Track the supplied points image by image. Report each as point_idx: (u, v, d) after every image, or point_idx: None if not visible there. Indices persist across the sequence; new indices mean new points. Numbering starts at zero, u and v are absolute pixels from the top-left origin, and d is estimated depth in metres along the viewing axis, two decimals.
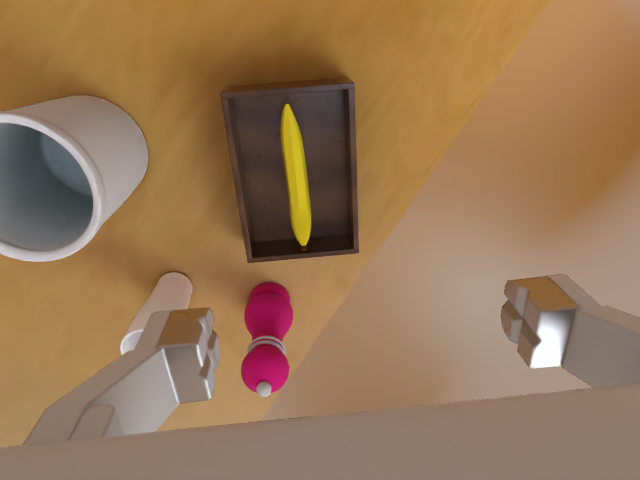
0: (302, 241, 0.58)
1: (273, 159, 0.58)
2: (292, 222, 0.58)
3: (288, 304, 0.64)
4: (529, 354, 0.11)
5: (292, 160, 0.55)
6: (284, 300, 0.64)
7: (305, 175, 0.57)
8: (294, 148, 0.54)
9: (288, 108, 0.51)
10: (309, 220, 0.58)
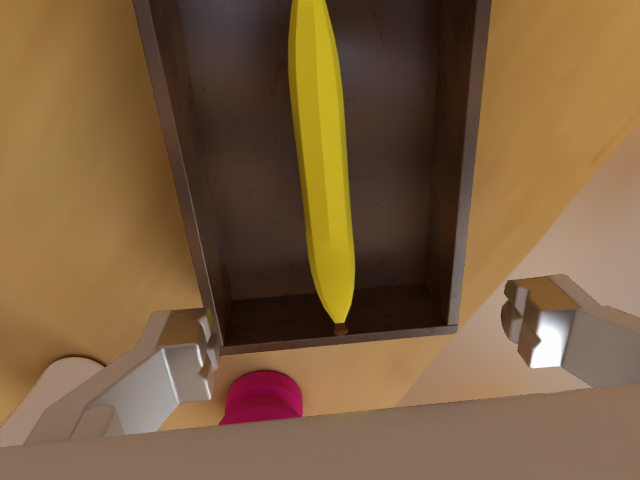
0: (336, 313, 0.25)
1: (270, 127, 0.26)
2: (313, 269, 0.26)
3: None
4: (529, 354, 0.11)
5: (316, 124, 0.22)
6: None
7: (344, 163, 0.25)
8: (322, 93, 0.21)
9: None
10: (350, 265, 0.26)
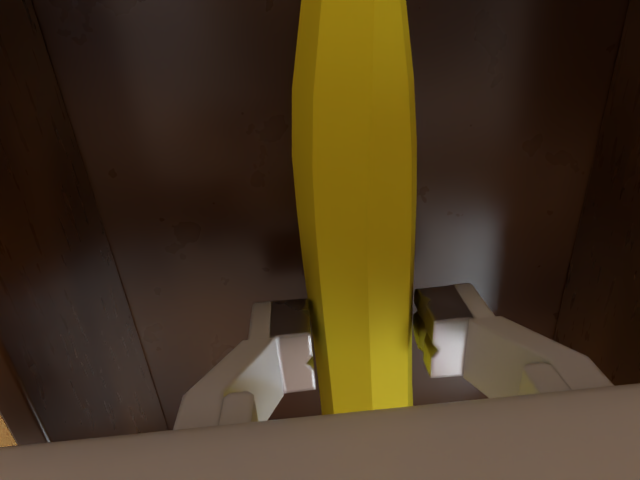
0: None
1: (254, 244, 0.13)
2: None
3: None
4: (430, 364, 0.11)
5: (358, 275, 0.09)
6: None
7: (410, 328, 0.12)
8: (376, 212, 0.09)
9: None
10: None
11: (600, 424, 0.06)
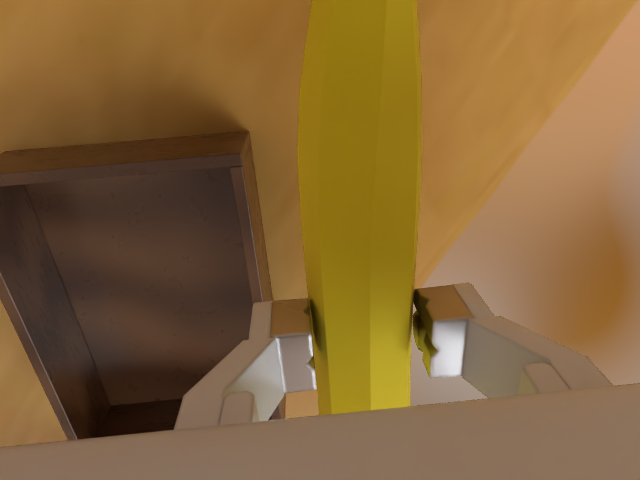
0: None
1: (121, 279, 0.31)
2: None
3: None
4: (429, 364, 0.11)
5: (361, 275, 0.09)
6: None
7: (410, 330, 0.12)
8: (381, 213, 0.09)
9: None
10: None
11: (600, 424, 0.06)
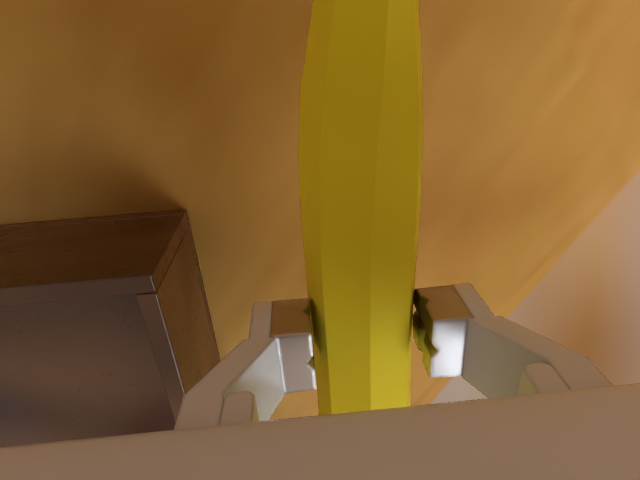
0: None
1: (18, 401, 0.22)
2: None
3: None
4: (429, 364, 0.11)
5: (361, 275, 0.09)
6: None
7: (410, 330, 0.12)
8: (382, 213, 0.09)
9: None
10: None
11: (600, 424, 0.06)
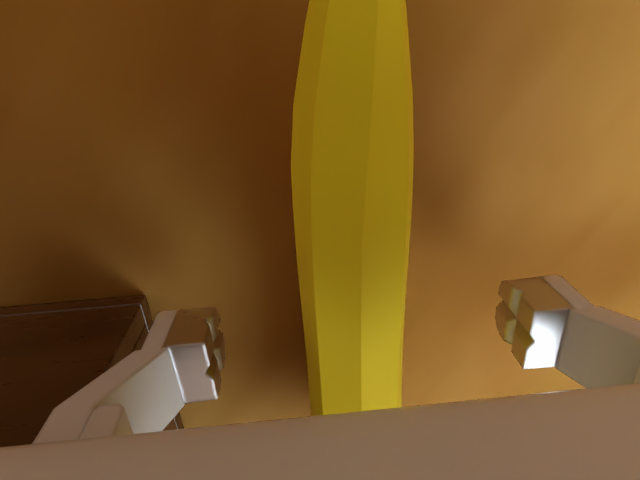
0: None
1: None
2: None
3: None
4: (523, 354, 0.11)
5: (352, 286, 0.10)
6: None
7: (401, 339, 0.12)
8: (372, 226, 0.09)
9: None
10: None
11: (600, 424, 0.06)
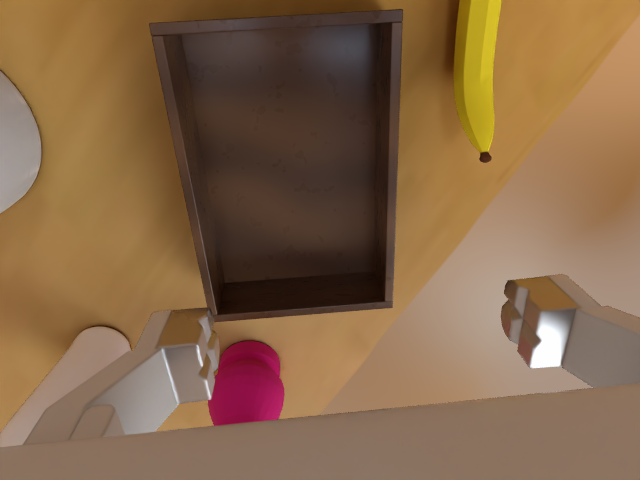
0: (483, 144, 0.30)
1: (254, 153, 0.35)
2: (461, 109, 0.31)
3: (277, 380, 0.41)
4: (529, 354, 0.11)
5: None
6: (271, 374, 0.40)
7: None
8: None
9: None
10: (493, 107, 0.31)
11: (600, 424, 0.06)
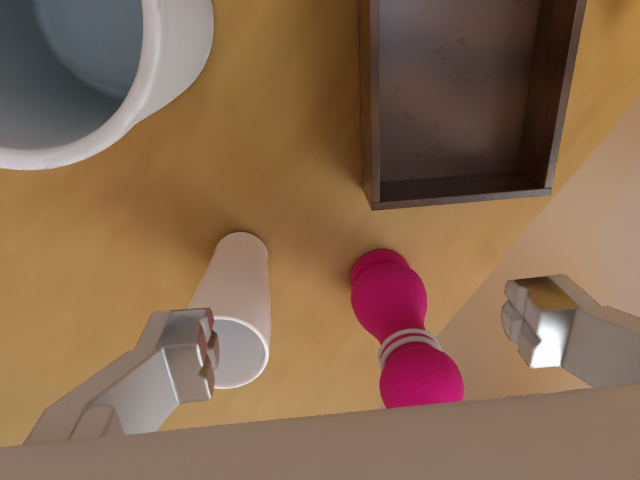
0: None
1: (417, 38, 0.35)
2: None
3: (421, 281, 0.41)
4: (529, 354, 0.11)
5: None
6: (416, 274, 0.41)
7: None
8: None
9: None
10: None
11: (600, 424, 0.06)
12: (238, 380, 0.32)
